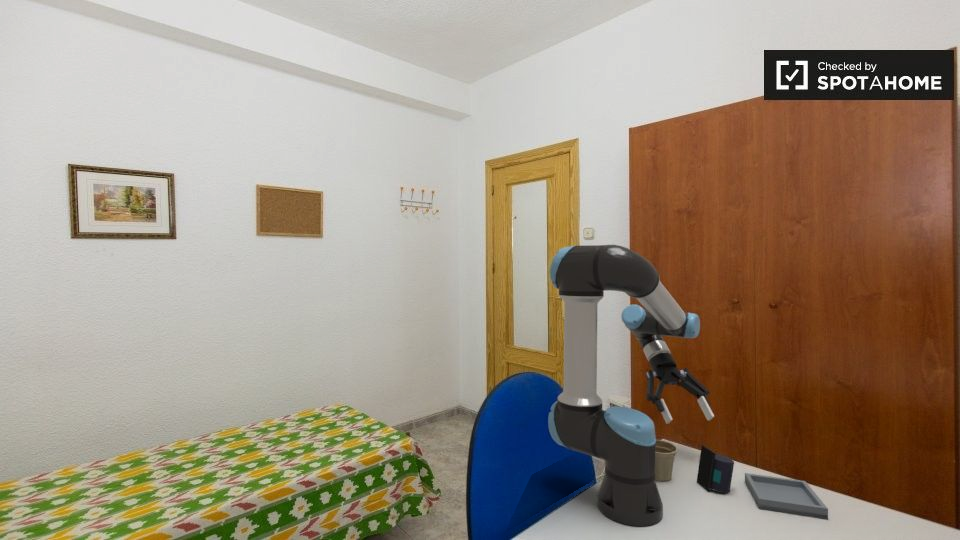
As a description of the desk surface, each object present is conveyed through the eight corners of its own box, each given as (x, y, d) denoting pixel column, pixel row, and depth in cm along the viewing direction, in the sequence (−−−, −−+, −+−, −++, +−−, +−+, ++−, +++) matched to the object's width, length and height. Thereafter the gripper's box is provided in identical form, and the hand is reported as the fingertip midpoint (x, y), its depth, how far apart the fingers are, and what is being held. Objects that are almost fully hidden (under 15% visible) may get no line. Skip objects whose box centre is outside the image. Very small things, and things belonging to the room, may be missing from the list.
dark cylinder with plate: (701, 491, 115) (705, 452, 115) (696, 482, 120) (700, 444, 120) (733, 498, 113) (737, 458, 113) (726, 488, 118) (730, 450, 119)
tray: (759, 508, 107) (759, 498, 107) (744, 482, 120) (744, 473, 120) (827, 519, 103) (828, 508, 103) (805, 490, 116) (805, 481, 116)
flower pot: (681, 486, 118) (681, 454, 118) (644, 482, 120) (644, 451, 120) (673, 470, 127) (673, 440, 127) (639, 467, 129) (639, 438, 129)
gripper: (688, 362, 147) (721, 422, 133) (620, 366, 142) (646, 429, 128) (699, 349, 142) (734, 411, 127) (628, 352, 137) (657, 417, 122)
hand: (690, 420), depth 128 cm, fingers open, 13 cm apart
